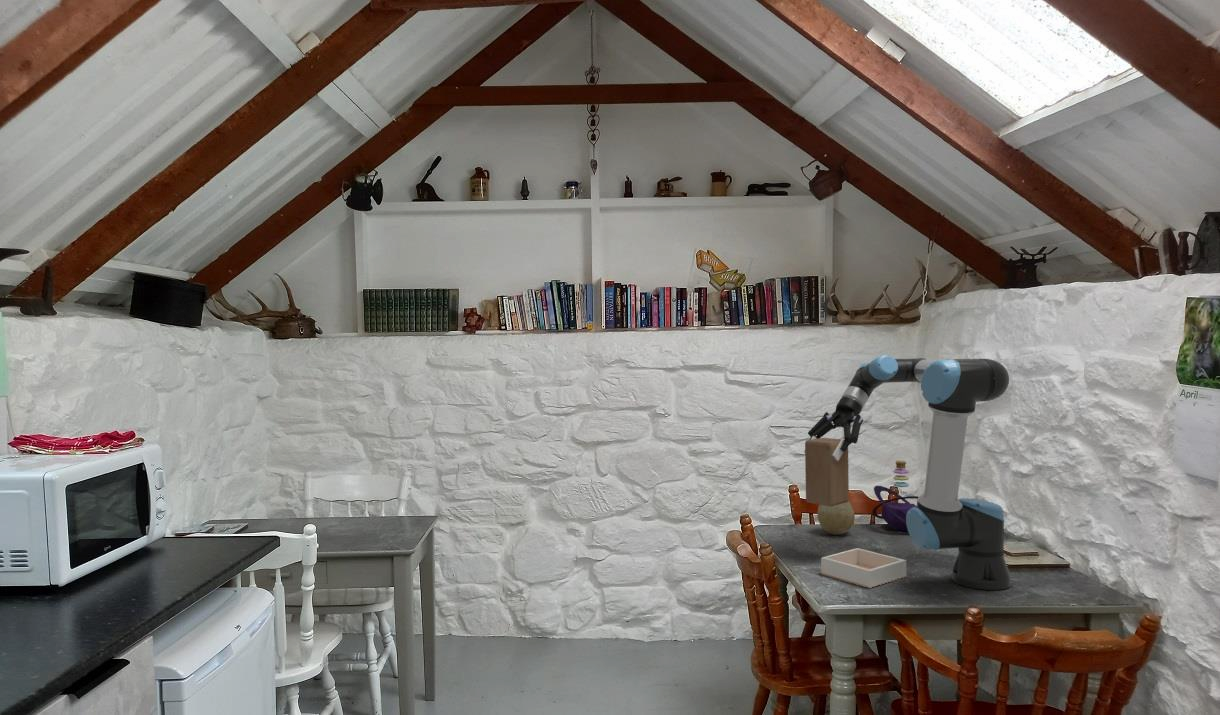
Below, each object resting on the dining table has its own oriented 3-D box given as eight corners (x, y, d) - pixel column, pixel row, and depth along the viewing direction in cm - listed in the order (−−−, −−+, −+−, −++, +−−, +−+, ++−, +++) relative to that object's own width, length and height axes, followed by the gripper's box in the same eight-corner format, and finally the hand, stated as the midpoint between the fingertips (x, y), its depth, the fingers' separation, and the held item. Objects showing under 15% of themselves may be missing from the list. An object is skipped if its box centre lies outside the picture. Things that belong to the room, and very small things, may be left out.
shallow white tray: (906, 577, 224) (906, 560, 224) (870, 588, 214) (870, 571, 214) (857, 564, 238) (857, 548, 238) (821, 574, 228) (821, 557, 228)
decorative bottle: (926, 539, 265) (926, 467, 265) (864, 532, 276) (863, 463, 276) (936, 525, 285) (936, 458, 284) (878, 519, 295) (877, 455, 295)
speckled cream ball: (810, 533, 276) (809, 492, 276) (832, 528, 284) (831, 487, 283) (840, 540, 266) (839, 497, 266) (862, 534, 274) (861, 492, 273)
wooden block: (831, 507, 237) (830, 442, 237) (804, 502, 245) (803, 440, 244) (850, 502, 243) (849, 439, 243) (823, 498, 251) (822, 437, 251)
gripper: (887, 413, 243) (856, 468, 234) (828, 409, 262) (798, 459, 253) (876, 397, 240) (845, 452, 231) (817, 394, 259) (786, 445, 250)
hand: (820, 456), depth 242 cm, fingers closed on wooden block, 10 cm apart
